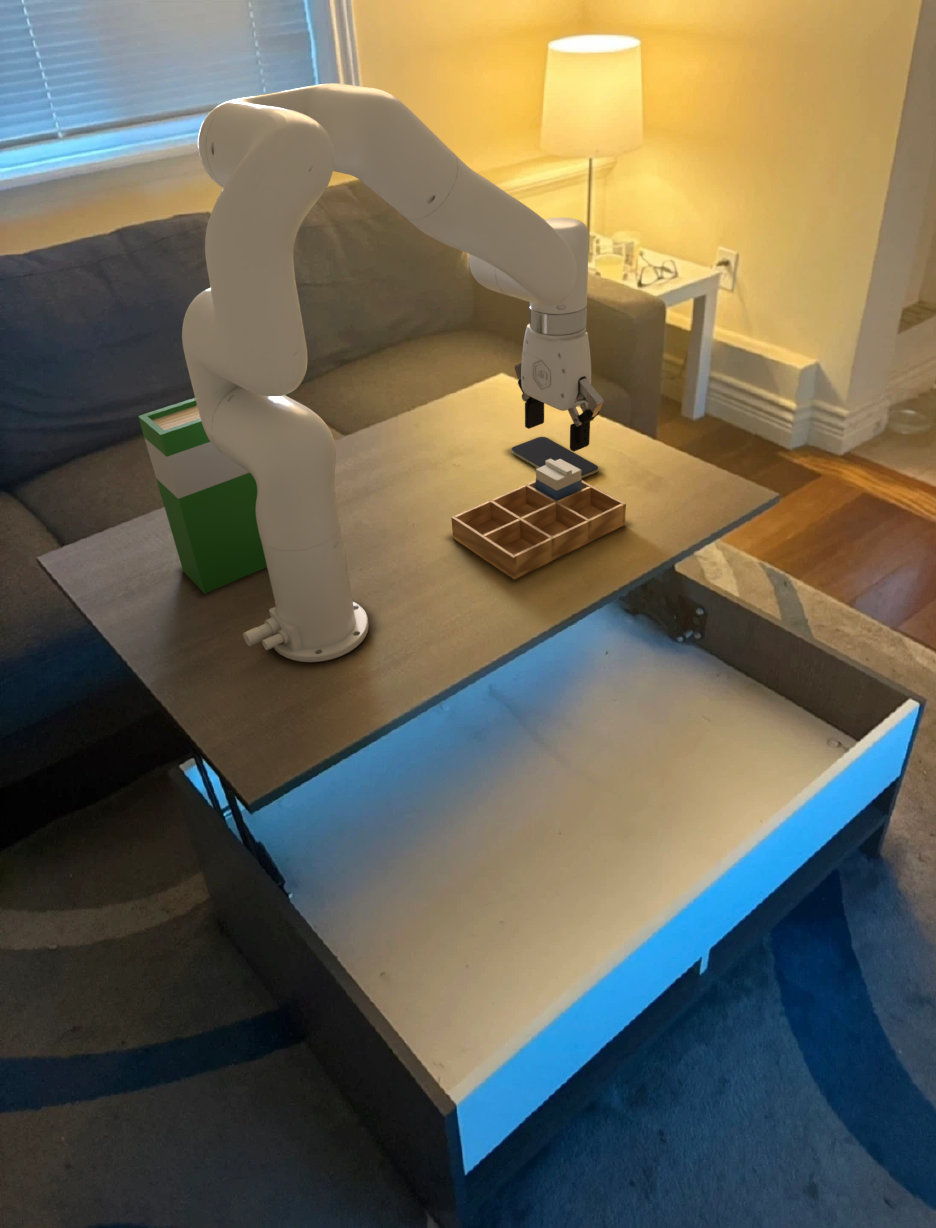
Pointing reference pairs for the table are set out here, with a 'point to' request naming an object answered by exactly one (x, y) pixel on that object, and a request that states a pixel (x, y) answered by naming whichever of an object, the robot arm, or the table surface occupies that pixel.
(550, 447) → the smartphone
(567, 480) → the milk carton
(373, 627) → the table surface
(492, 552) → the compartment tray
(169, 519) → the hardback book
